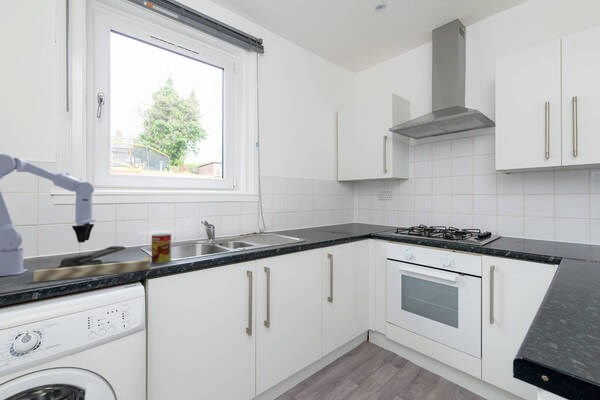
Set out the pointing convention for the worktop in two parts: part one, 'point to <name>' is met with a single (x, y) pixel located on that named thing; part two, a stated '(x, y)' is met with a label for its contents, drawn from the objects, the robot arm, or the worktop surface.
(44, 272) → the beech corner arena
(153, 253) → the canned food
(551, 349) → the worktop surface
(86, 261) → the dark grey elongated piece
